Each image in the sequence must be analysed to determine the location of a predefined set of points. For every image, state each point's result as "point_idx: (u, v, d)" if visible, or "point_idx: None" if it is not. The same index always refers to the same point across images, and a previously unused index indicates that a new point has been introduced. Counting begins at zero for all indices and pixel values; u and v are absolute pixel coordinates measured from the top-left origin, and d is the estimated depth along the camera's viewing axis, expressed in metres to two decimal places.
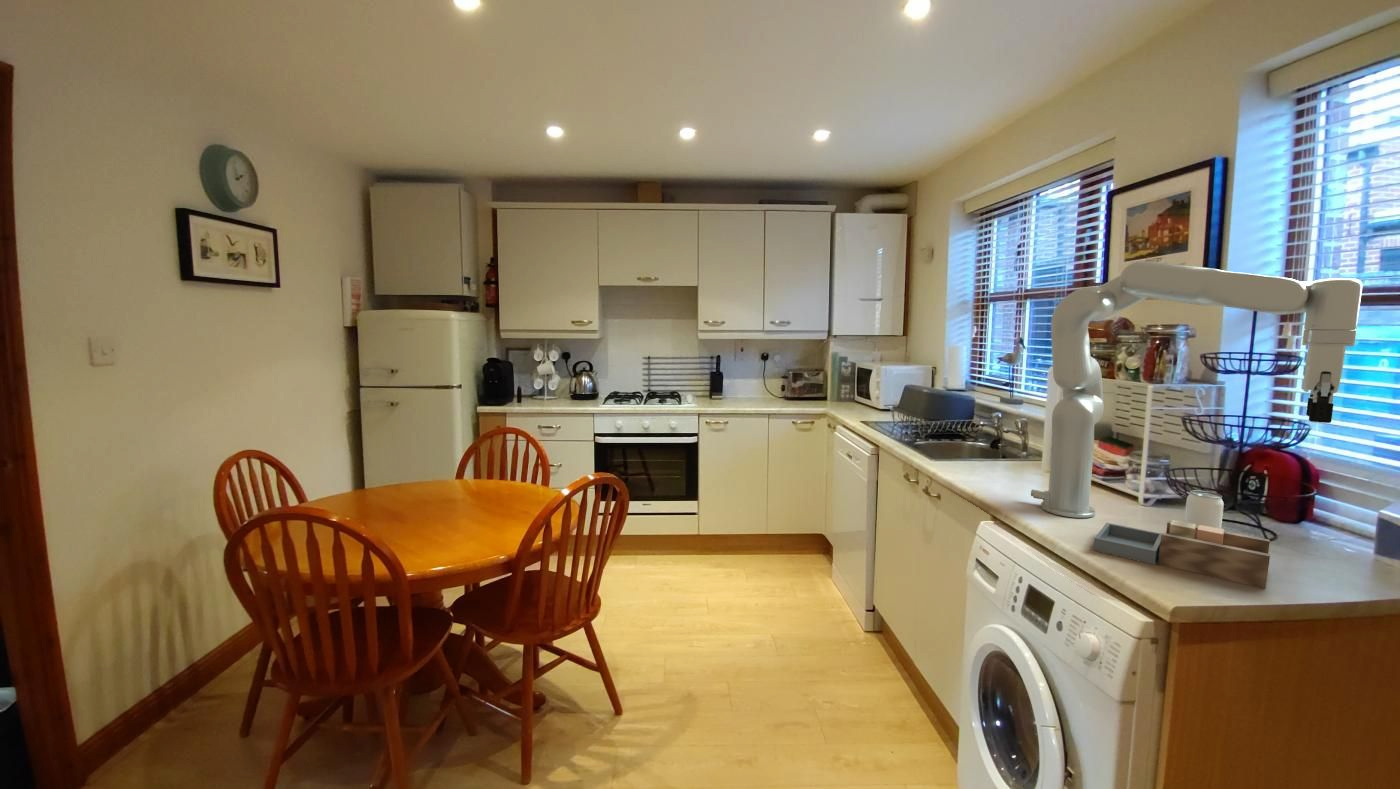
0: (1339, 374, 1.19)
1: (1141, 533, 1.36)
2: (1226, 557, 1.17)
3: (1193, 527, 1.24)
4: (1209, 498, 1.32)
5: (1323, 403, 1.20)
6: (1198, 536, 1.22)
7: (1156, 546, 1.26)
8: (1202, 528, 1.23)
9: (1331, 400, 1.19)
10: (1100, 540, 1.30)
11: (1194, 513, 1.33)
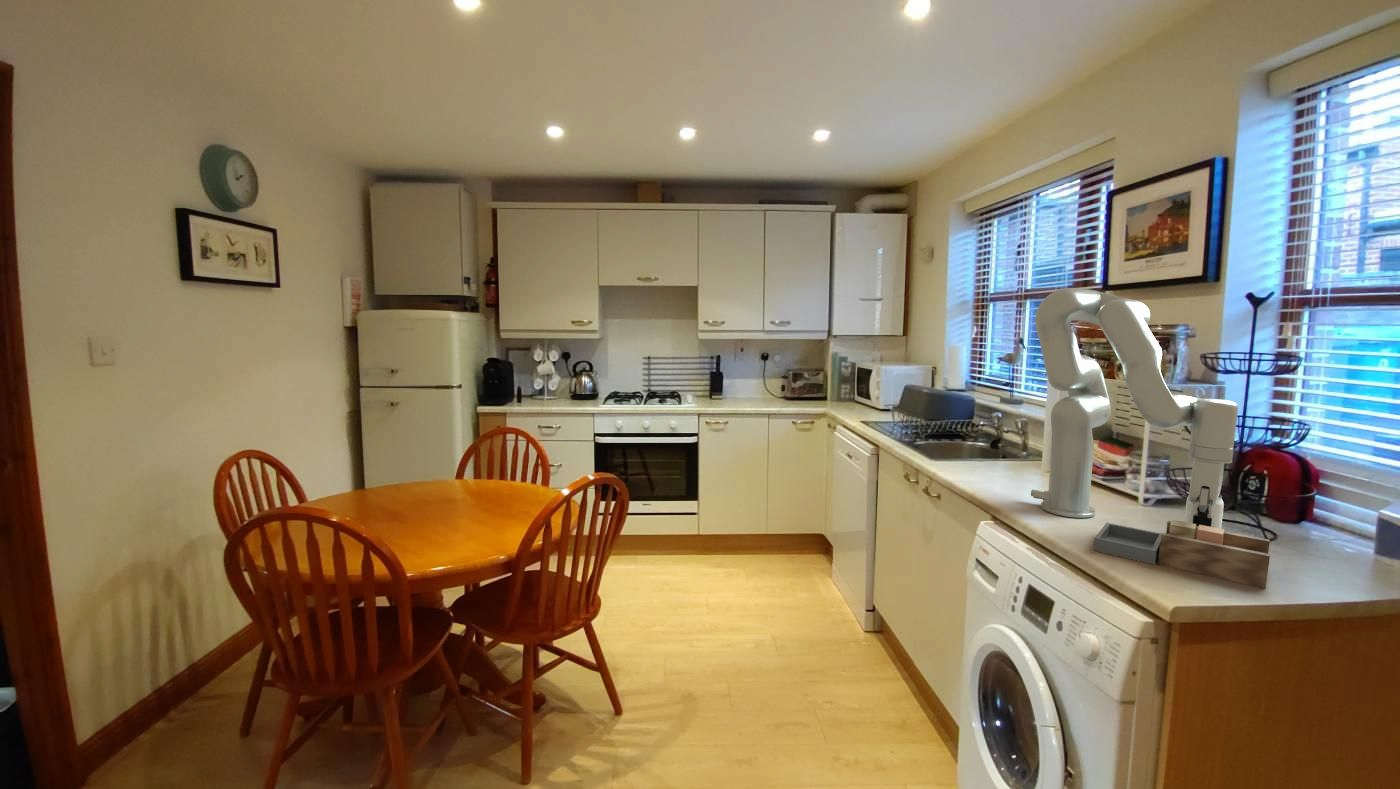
0: (1216, 489, 1.29)
1: (1141, 533, 1.36)
2: (1226, 557, 1.17)
3: (1193, 527, 1.24)
4: None
5: (1203, 517, 1.31)
6: (1198, 536, 1.22)
7: (1156, 546, 1.26)
8: (1202, 528, 1.23)
9: (1209, 516, 1.30)
10: (1100, 540, 1.30)
11: (1194, 513, 1.33)
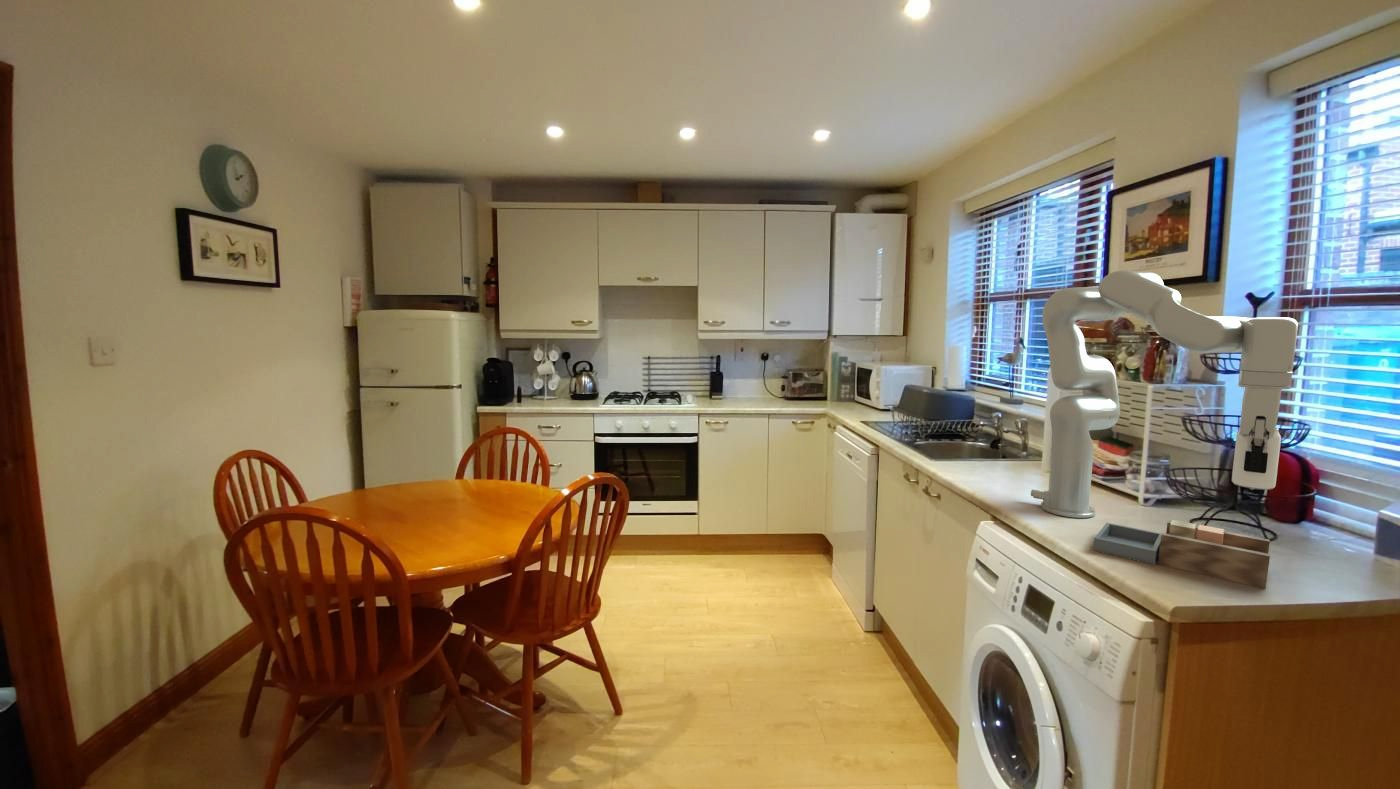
0: (1274, 419, 1.12)
1: (1141, 533, 1.36)
2: (1226, 557, 1.17)
3: (1193, 527, 1.24)
4: None
5: (1257, 453, 1.14)
6: (1198, 536, 1.22)
7: (1156, 546, 1.26)
8: (1202, 528, 1.23)
9: (1265, 451, 1.13)
10: (1100, 540, 1.30)
11: (1246, 449, 1.16)
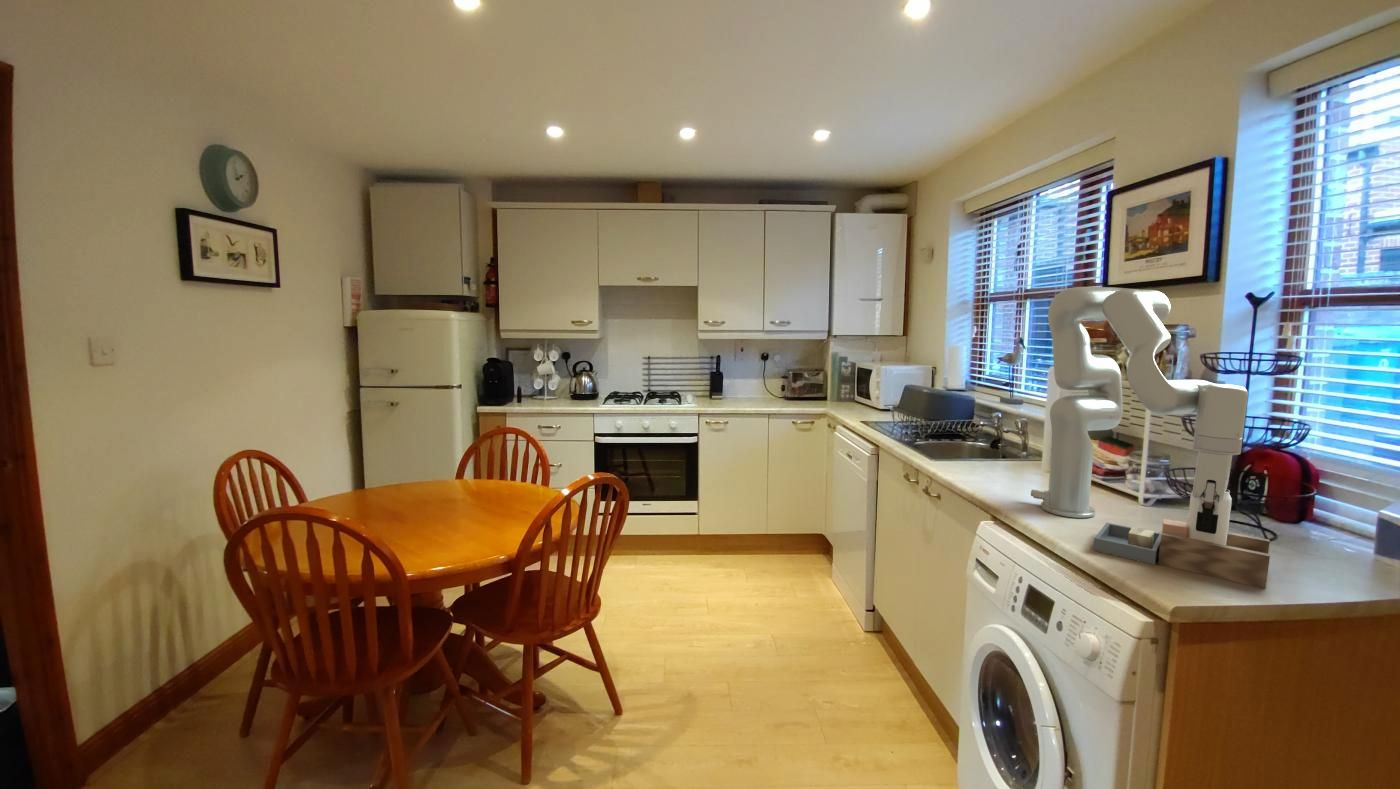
0: (1224, 484, 1.17)
1: None
2: (1226, 557, 1.17)
3: (1129, 532, 1.31)
4: None
5: (1208, 514, 1.19)
6: (1164, 530, 1.26)
7: (1156, 546, 1.26)
8: (1167, 522, 1.27)
9: (1215, 513, 1.18)
10: (1100, 540, 1.30)
11: None
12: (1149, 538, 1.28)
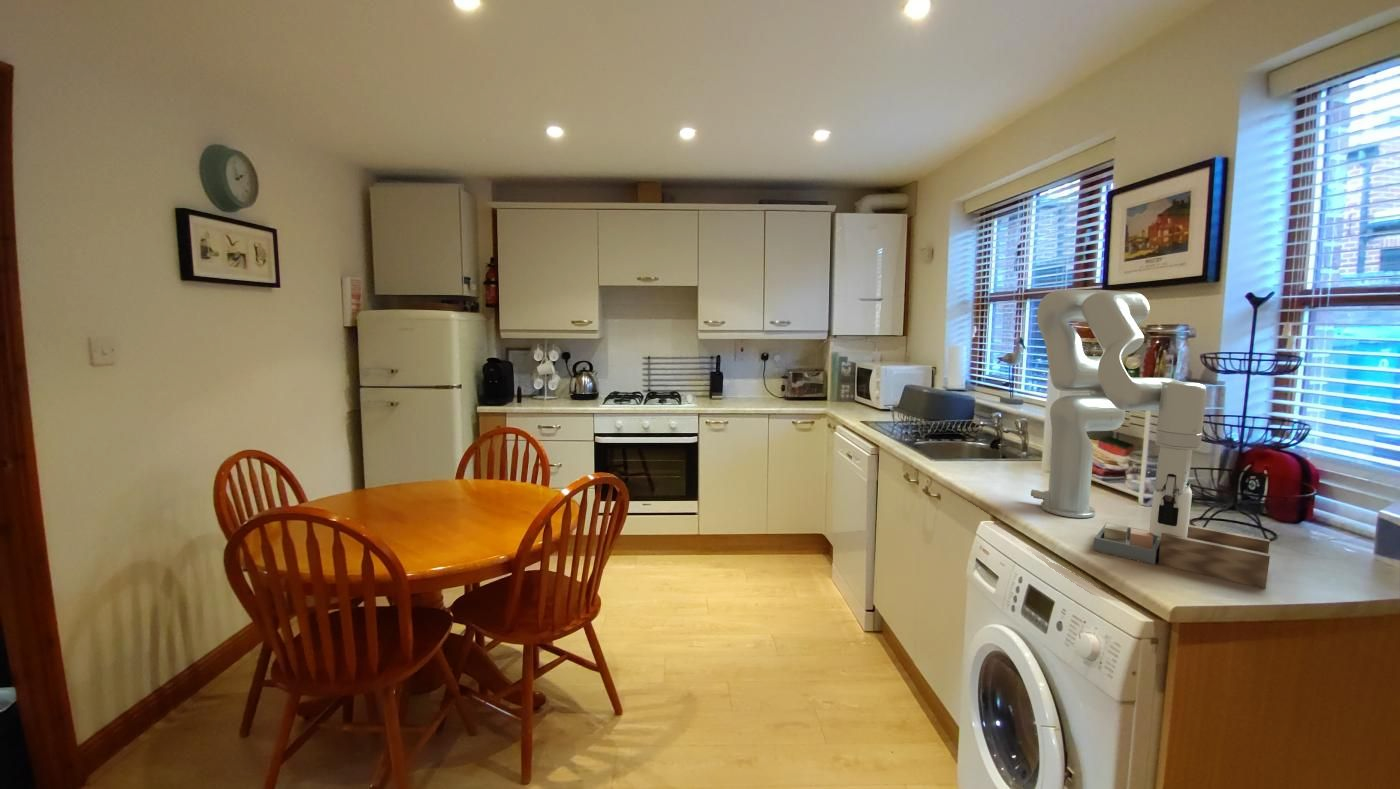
0: (1183, 477, 1.21)
1: None
2: (1226, 557, 1.17)
3: None
4: None
5: (1169, 507, 1.23)
6: (1144, 537, 1.28)
7: (1156, 546, 1.26)
8: None
9: (1175, 506, 1.22)
10: (1100, 540, 1.30)
11: None
12: (1106, 529, 1.33)
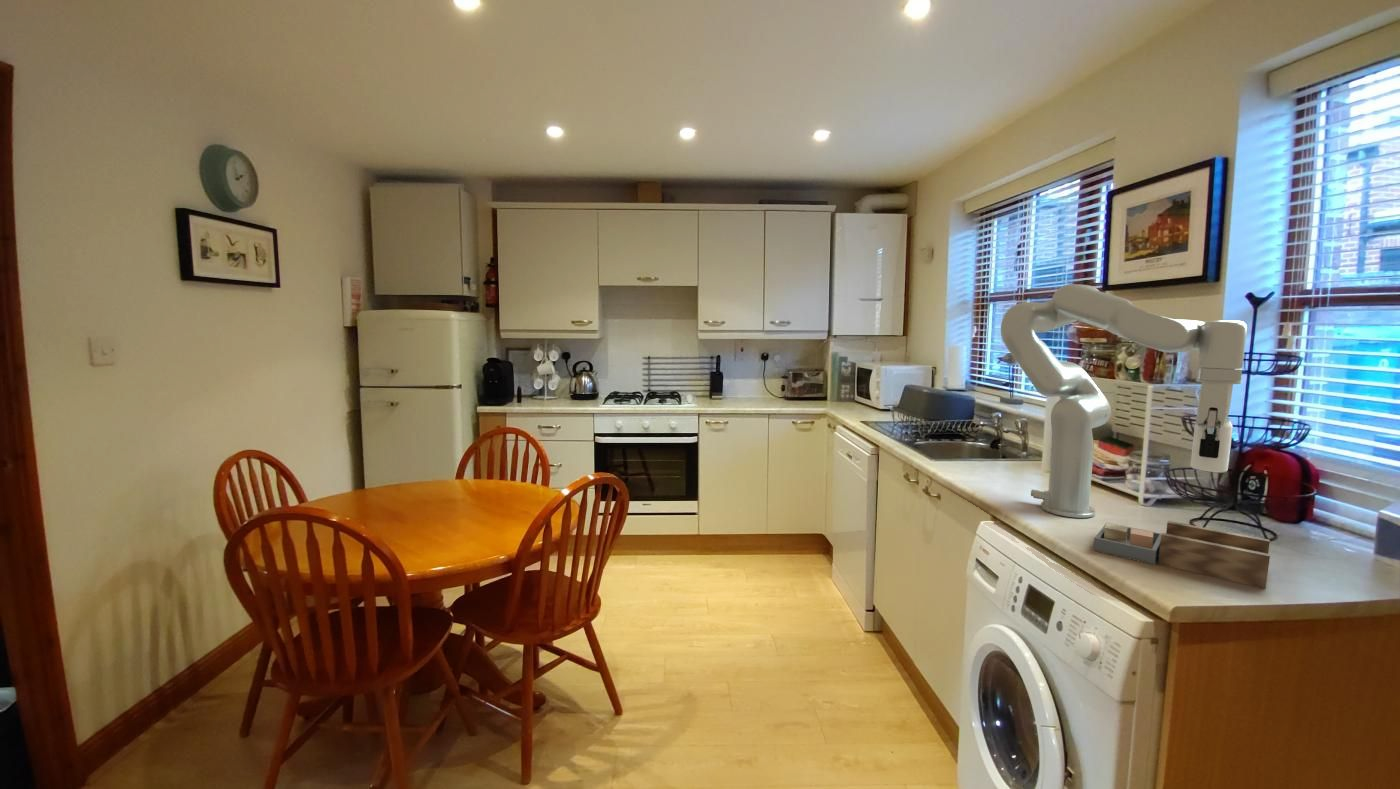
0: (1225, 410, 1.27)
1: None
2: (1226, 557, 1.17)
3: None
4: (1218, 421, 1.29)
5: (1210, 440, 1.29)
6: (1144, 537, 1.28)
7: (1156, 546, 1.26)
8: None
9: (1217, 438, 1.28)
10: (1100, 540, 1.30)
11: None
12: (1106, 529, 1.33)
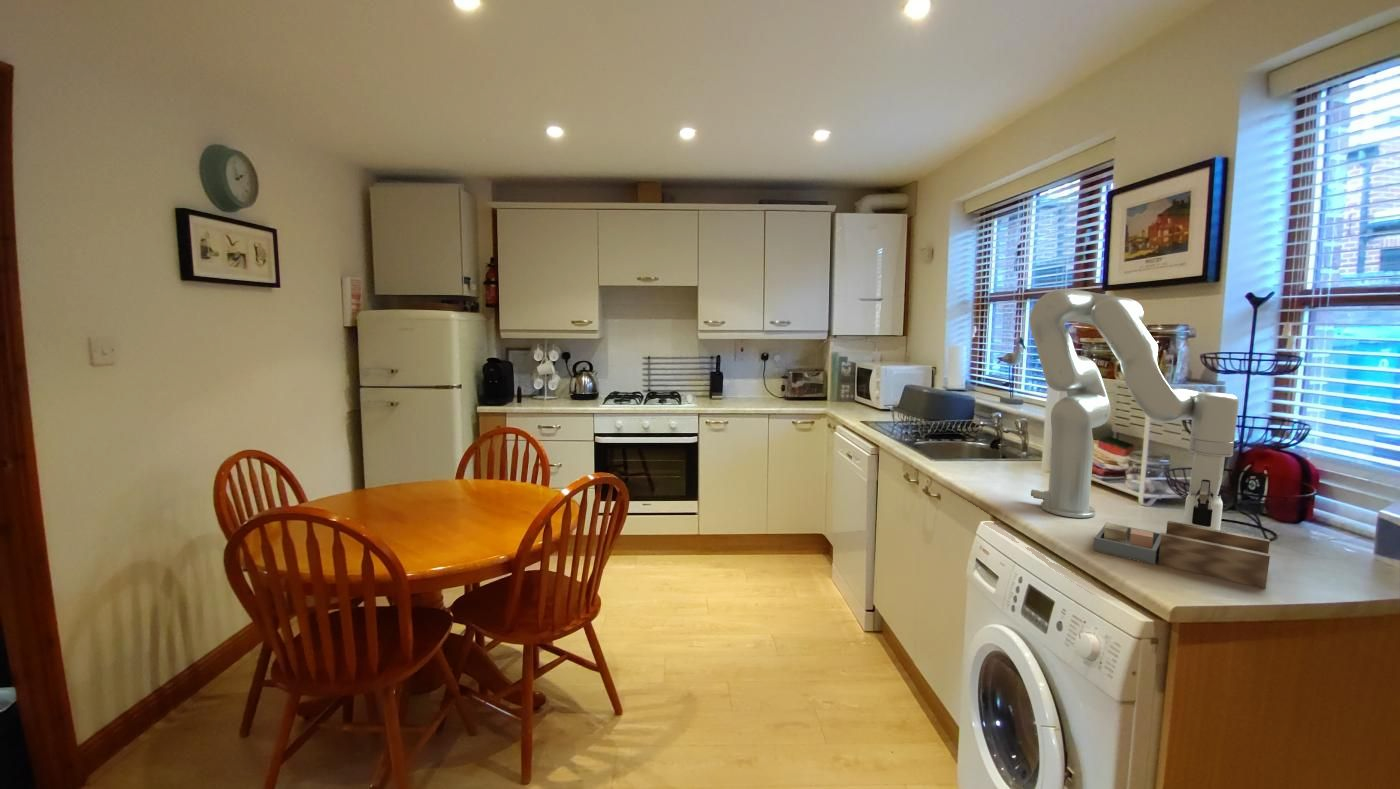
0: (1217, 483, 1.29)
1: None
2: (1226, 557, 1.17)
3: None
4: None
5: (1203, 509, 1.30)
6: (1144, 537, 1.28)
7: (1156, 546, 1.26)
8: None
9: (1210, 507, 1.29)
10: (1100, 540, 1.30)
11: None
12: (1106, 529, 1.33)
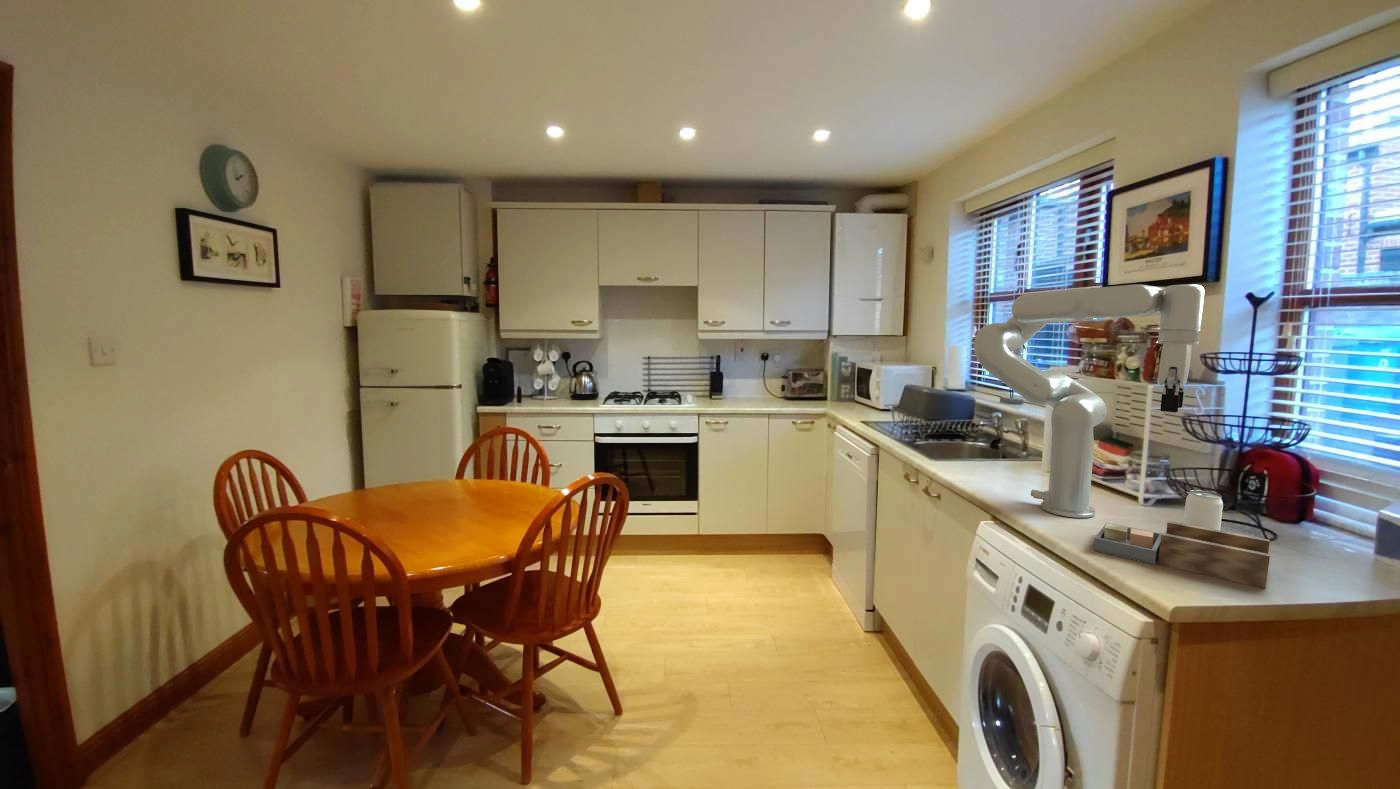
0: (1183, 369, 1.34)
1: None
2: (1226, 557, 1.17)
3: None
4: (1208, 498, 1.32)
5: (1170, 395, 1.35)
6: (1144, 537, 1.28)
7: (1156, 546, 1.26)
8: None
9: (1176, 392, 1.34)
10: (1100, 540, 1.30)
11: (1193, 513, 1.34)
12: (1106, 529, 1.33)
